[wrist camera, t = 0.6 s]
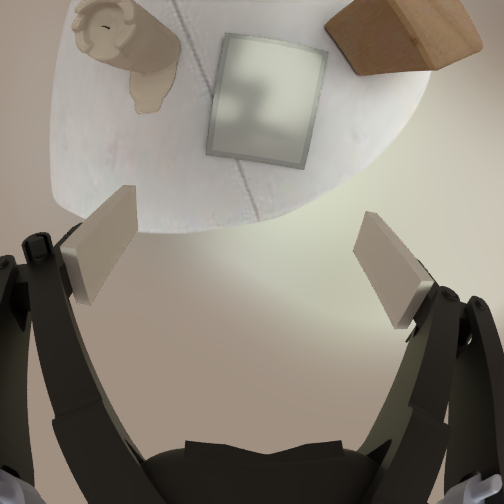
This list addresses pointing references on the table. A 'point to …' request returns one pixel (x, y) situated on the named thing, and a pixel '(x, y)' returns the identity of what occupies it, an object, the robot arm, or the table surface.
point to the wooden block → (404, 35)
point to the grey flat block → (265, 100)
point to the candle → (130, 46)
